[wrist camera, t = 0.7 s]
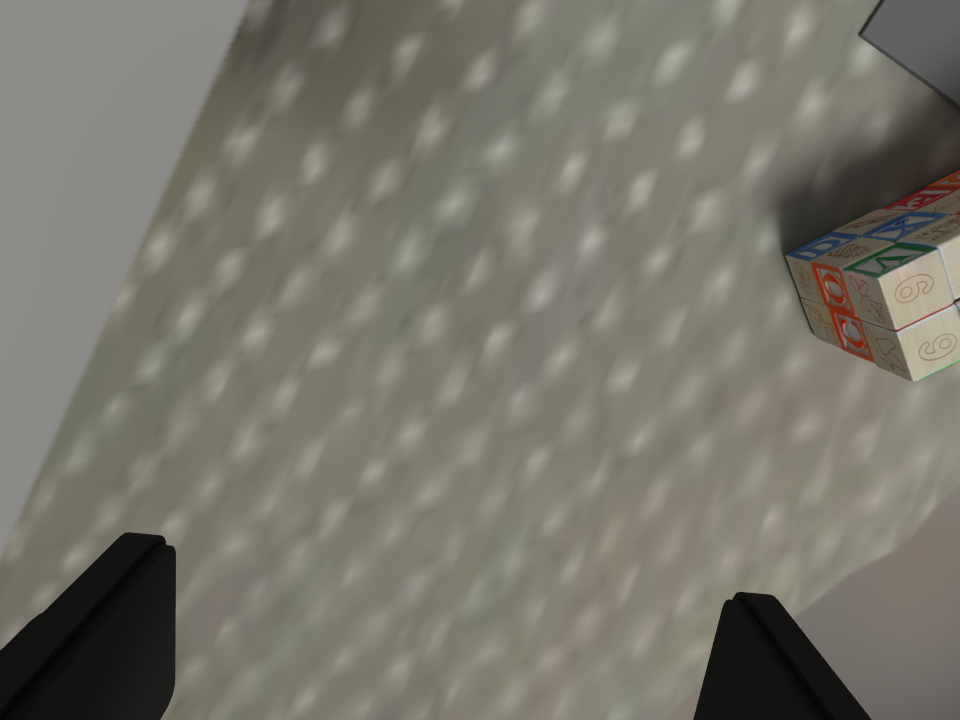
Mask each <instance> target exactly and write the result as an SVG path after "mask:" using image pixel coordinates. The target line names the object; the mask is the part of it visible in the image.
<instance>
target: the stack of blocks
mask: <svg viewBox="0 0 960 720" xmlns="http://www.w3.org/2000/svg"><path fill="white" fill-rule="evenodd" d="M785 257H786V259H787V262H788V264H789V267H790V270H791V273H792V275H793V278H794V281H795V283H796V286H797V289H798V292H799V294H800V296H801V301H802V304H803V307H804V310H805V312H806V315H807V317H808V320H809V323H810V325H811V328H812V330H813V332H814V334H815V336H816V337H817V338H818V339H820V340H822V341H825V342H827V343H829V344H832V345H835V346H837V347H840V348H842V349H843V350H844V351H846V352H849V353H851V354H853V355H856V356H858V357H861V358H863V359H865V360H868V361H871V362H873V363H876V365H877V366H878V367H880V368H882V369H884V370H887V371H889V372H891V373H893V374H896V375H898V376H900V377H903V378H905V379H907V380H909V381H913V382H915V381H919V380H921V379H923V378H925V377H927V376H929V375H931V374H933V373H936V372H938V371H940V370H942V369H944V368H946V367H948V366H951V365H953V364H955V363H957V362H959V361H960V170H958V171H957V172H955V173H953V174H950V175H948V176H946V177H944V178H942V179H940V180H938V181H936V182H934V183H932V184H930V185H928V186H927V187H926V188H924V189H922V190H920V191H917V192H915V193H913V194H911V195H909V196H907V197H905V198H903V199H901V200H899V201H897V202H895V203H892V204H891V205H889V206H886V207H884V208H883V209H877V210H874V211H872V212H870V213H868V214H866V215H864V216H862V217H860V218H858V219H856V220H854V221H852V222H850V223H847V224H845V225H843V226H841V227H839V228H837V229H835V230H834V231H832V232H831V233H829V234H826V235H824V236H822V237H820V238H818V239H816V240H813V241H811V242H809V243H807V244H806V245H803V246H801V247H799V248H797V249H795V250H793V251H791V252H789V253H787V254H786V255H785Z"/></svg>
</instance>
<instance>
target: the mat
mask: <svg viewBox="0 0 960 720" xmlns="http://www.w3.org/2000/svg"><path fill="white" fill-rule="evenodd" d="M859 36H860V37H861V38H863V39H864V40H865V41H867V42H868V43H870V44H871V45H872V46H874V47H875V48H877V49H878V50H879V51H881V52H882V53H884V54H885V55H886V56H888V57H889V58H890V59H892V60H893V61H895V62H896V63H897V64H899V65H900V66H902V67H903V68H904V69H906V70H907V71H909V72H910V73H911V74H913V75H914V76H916V77H917V78H918V79H920V80H921V81H923V82H924V83H925V84H927V85H928V86H930V87H931V88H932V89H934V90H935V91H937V92H938V93H939V94H941V95H942V96H944V97H945V98H946V99H948V100H949V101H951V102H952V103H953V104H955V105H956V106H958V107H959V108H960V0H882V2H881V4H880V5H879V7H878V8H877V10H876V11H875V13H874V14H873V16H872V17H871V19H870V20H869V22H868V23H867V25H866V26H865V28H864V29H863V31H862V32H861V34H860V35H859Z"/></svg>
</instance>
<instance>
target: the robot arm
mask: <svg viewBox="0 0 960 720" xmlns="http://www.w3.org/2000/svg"><path fill="white" fill-rule="evenodd" d="M175 619H176V551H175V548H174V547H173V546H169V545H166V541H165V538H164V537H163V536H161V535H151V534H141V533H130V532H127V533H124V534H123V535H121V536H120V537H119V538H118V539H117V540H116V541H115V542H114V543H113V544H112V545H111V546H110V547H109V548H108V549H107V550H106V551H105V552H104V553H103V554H102V555H101V556H100V557H99V558H98V559H97V560H96V561H95V562H94V563H93V564H92V565H91V566H90V567H89V568H88V569H87V570H86V571H85V572H84V573H83V574H81V575H80V576H79V577H78V578H77V579H76V580H75V581H74V582H73V583H72V584H71V585H70V586H69V587H68V588H67V589H66V590H65V591H64V592H63V593H62V594H61V595H60V596H59V597H58V598H57V599H56V600H55V601H54V602H53V603H52V604H51V605H50V606H49V607H48V608H47V609H46V610H45V611H44V612H43V613H41V614H39V615H38V616H36V617H35V618H34V619H32V620H31V621H30V622H29V623H28V624H27V625H26V626H25V627H24V628H23V629H22V630H21V631H20V632H19V633H18V634H17V635H16V636H15V637H14V638H13V639H12V640H11V641H10V642H9V643H8V644H7V645H6V646H5V647H4V648H2V649H1V650H0V720H160V719H161V718H162V716H163V714H164V712H165V711H166V709H167V707H168V705H169V703H170V700H171V698H172V695H173V691H174V686H175ZM693 720H871V718H870V717H869V716H868V714H867V713H866V712H865V711H864V709H863V708H862V707H861V706H860V704H859V703H858V702H857V700H856V699H855V698H854V697H853V695H852V694H851V693H850V692H849V690H848V689H847V688H846V686H845V685H844V684H843V683H842V681H841V680H840V679H839V678H838V676H837V675H836V674H835V672H834V671H833V670H832V669H831V667H830V666H829V665H828V663H827V662H826V661H825V659H824V658H823V657H822V656H821V654H820V653H819V652H818V651H817V649H816V648H815V647H814V645H813V644H812V643H811V642H810V640H809V639H808V638H807V637H806V635H805V634H804V633H803V631H802V630H801V629H800V628H799V626H798V625H797V624H796V622H795V621H794V620H793V619H792V617H791V616H790V615H789V613H788V612H787V611H786V610H785V608H784V607H783V606H782V605H781V603H780V602H779V601H778V599H776V598H775V597H774V596H772V595H768V594H757V593H747V592H738V593H736V594H735V596H734V597H733V600H726V602H725V603H724V605H723V608H722V612H721V615H720V619H719V623H718V627H717V631H716V635H715V638H714V642H713V646H712V650H711V654H710V658H709V662H708V665H707V669H706V673H705V677H704V681H703V685H702V689H701V692H700V696H699V700H698V704H697V708H696V712H695V715H694V719H693Z"/></svg>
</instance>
